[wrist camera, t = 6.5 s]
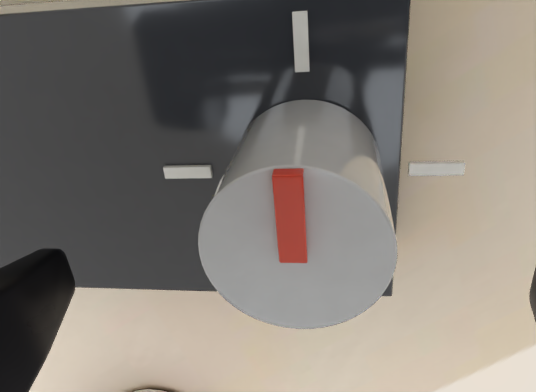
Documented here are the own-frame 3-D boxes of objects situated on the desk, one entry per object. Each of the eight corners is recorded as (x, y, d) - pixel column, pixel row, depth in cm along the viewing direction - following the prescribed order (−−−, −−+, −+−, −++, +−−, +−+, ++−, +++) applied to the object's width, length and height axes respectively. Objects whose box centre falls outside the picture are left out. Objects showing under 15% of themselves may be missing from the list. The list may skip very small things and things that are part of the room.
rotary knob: (378, 230, 13) (394, 344, 10) (243, 230, 14) (208, 336, 10) (384, 95, 11) (406, 170, 8) (227, 101, 12) (176, 174, 8)
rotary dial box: (458, -30, 12) (491, -22, 10) (429, 243, 17) (446, 302, 14) (-100, 13, 15) (-196, 29, 13) (-2, 238, 20) (-58, 286, 17)
